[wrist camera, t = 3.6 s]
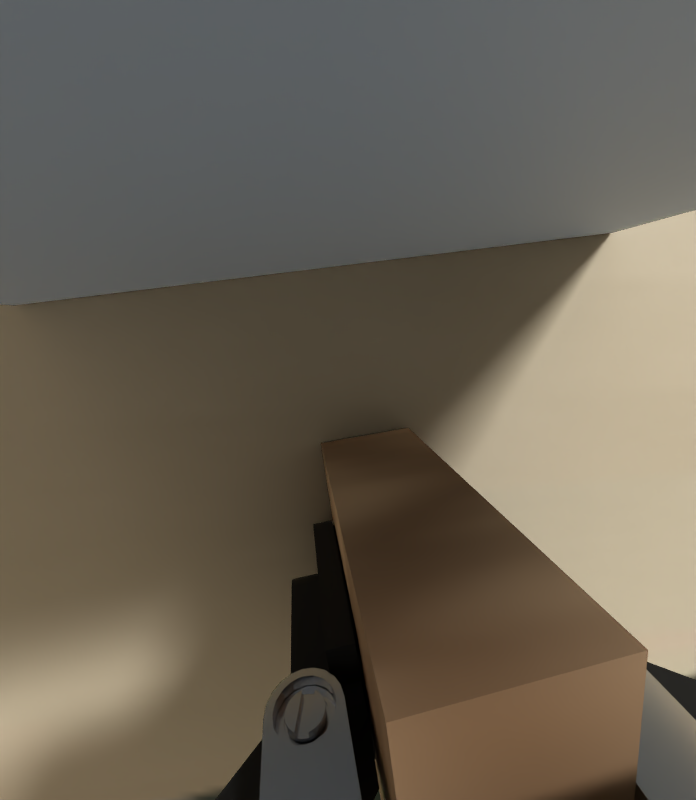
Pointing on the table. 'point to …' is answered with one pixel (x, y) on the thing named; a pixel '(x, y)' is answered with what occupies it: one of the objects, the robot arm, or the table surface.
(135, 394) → the table surface
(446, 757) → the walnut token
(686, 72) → the box
